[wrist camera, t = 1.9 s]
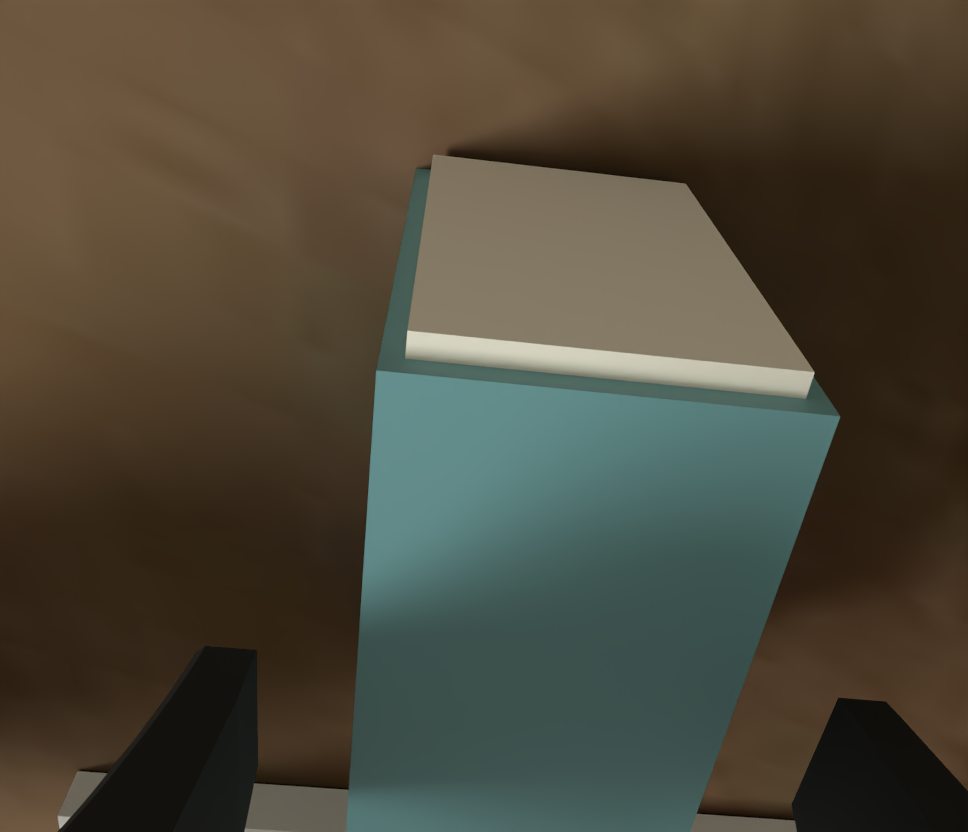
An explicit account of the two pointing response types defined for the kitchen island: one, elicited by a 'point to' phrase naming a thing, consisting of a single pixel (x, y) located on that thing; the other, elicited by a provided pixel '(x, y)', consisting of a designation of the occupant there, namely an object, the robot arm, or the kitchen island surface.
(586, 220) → the small book
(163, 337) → the kitchen island surface
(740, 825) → the shelf board
